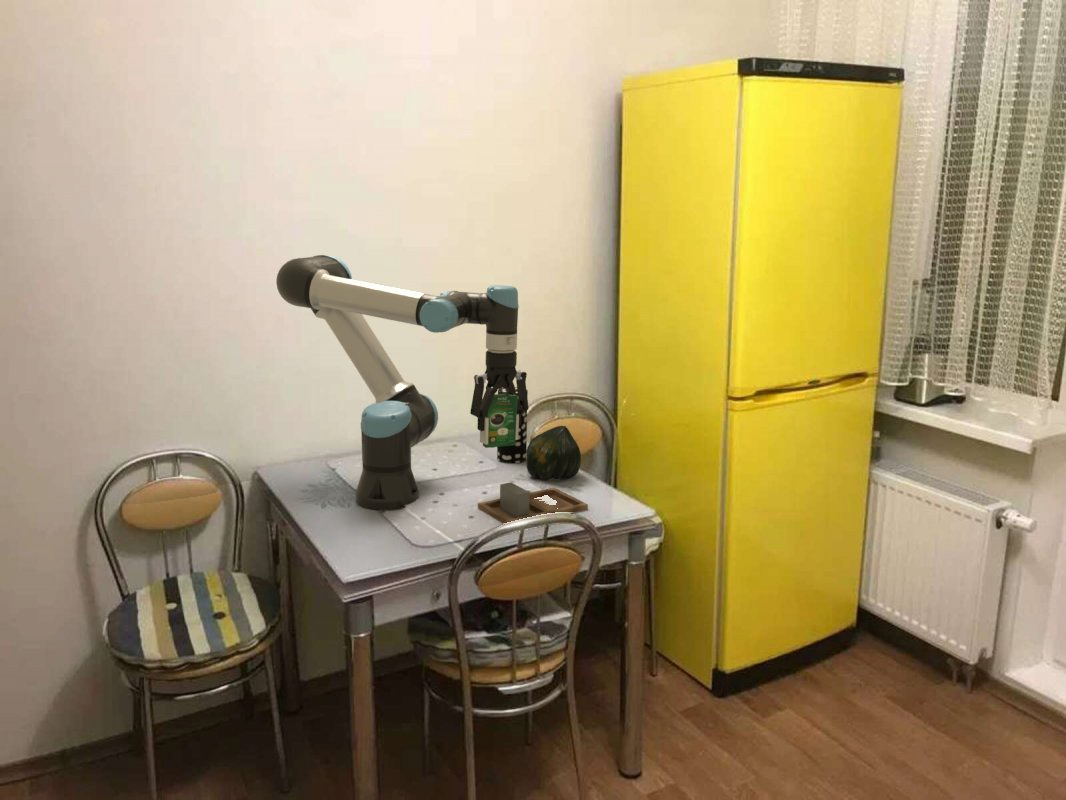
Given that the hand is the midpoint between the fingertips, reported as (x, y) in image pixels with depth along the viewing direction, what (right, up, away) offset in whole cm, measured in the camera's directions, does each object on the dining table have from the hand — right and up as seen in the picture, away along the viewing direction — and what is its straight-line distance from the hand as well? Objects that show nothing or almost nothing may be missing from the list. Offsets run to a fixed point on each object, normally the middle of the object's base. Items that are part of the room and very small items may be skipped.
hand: (499, 440), depth 213 cm
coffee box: (0, -1, 0) cm, 2 cm away
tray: (+8, -16, -9) cm, 21 cm away
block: (+4, -16, -12) cm, 21 cm away
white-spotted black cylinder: (+2, -7, +31) cm, 32 cm away
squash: (+14, -11, +17) cm, 24 cm away
